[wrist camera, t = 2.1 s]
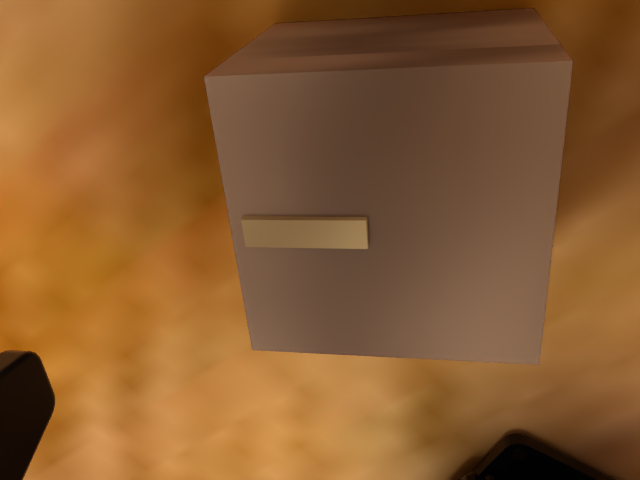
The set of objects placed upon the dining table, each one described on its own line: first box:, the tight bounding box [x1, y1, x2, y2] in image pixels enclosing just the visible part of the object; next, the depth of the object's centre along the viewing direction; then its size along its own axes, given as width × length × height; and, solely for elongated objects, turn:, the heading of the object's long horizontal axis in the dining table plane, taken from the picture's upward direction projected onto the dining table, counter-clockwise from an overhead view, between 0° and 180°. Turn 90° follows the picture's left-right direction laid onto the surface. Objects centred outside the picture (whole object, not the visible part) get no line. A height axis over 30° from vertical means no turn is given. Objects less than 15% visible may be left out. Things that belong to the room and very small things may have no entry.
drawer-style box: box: [204, 8, 573, 365], centre depth 13 cm, size 6×6×5 cm
